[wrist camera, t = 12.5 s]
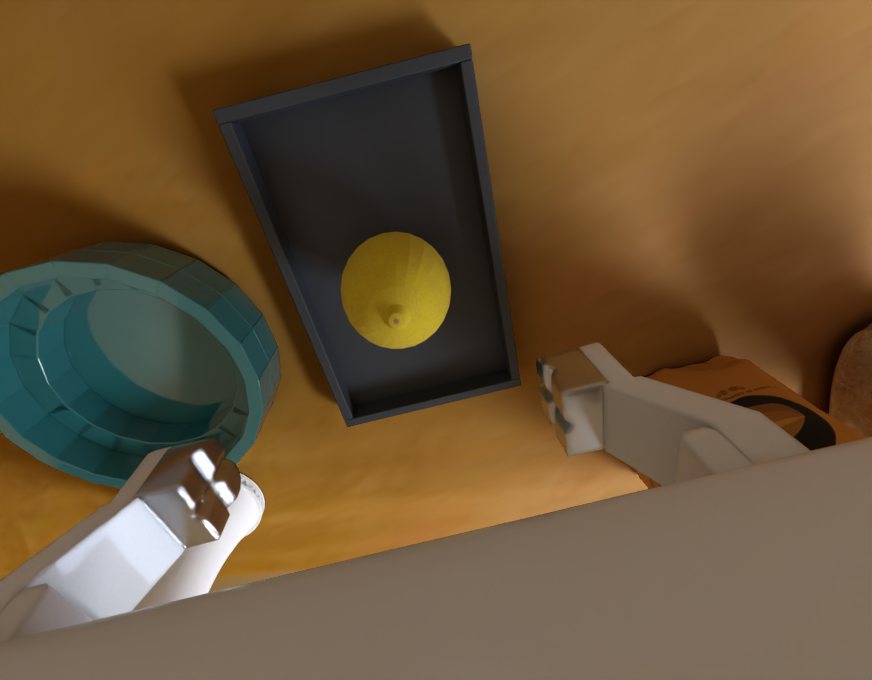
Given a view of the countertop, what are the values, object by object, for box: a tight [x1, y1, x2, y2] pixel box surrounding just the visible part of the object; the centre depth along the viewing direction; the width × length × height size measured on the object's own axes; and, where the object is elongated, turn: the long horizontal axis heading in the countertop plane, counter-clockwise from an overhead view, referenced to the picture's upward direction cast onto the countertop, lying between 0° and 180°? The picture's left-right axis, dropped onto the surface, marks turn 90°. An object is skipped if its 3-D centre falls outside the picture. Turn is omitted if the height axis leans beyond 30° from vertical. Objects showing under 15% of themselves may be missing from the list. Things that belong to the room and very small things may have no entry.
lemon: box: [341, 232, 451, 349], centre depth 20 cm, size 6×6×8 cm
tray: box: [213, 44, 521, 427], centre depth 23 cm, size 19×12×2 cm, turn 12°
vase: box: [132, 473, 265, 611], centre depth 27 cm, size 8×8×10 cm
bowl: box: [0, 241, 281, 488], centre depth 23 cm, size 15×15×4 cm
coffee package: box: [637, 356, 867, 489], centre depth 22 cm, size 10×12×22 cm
